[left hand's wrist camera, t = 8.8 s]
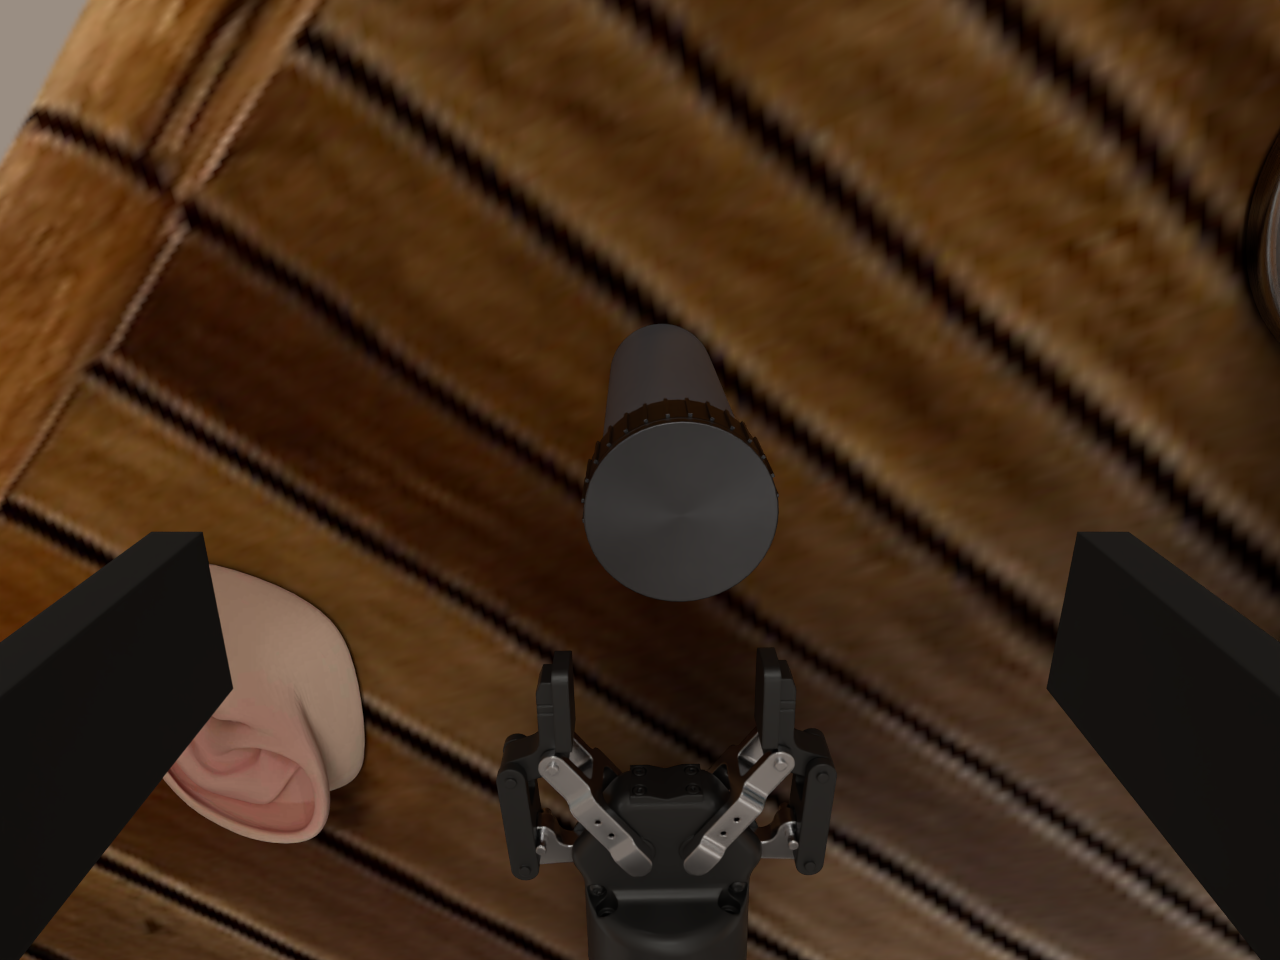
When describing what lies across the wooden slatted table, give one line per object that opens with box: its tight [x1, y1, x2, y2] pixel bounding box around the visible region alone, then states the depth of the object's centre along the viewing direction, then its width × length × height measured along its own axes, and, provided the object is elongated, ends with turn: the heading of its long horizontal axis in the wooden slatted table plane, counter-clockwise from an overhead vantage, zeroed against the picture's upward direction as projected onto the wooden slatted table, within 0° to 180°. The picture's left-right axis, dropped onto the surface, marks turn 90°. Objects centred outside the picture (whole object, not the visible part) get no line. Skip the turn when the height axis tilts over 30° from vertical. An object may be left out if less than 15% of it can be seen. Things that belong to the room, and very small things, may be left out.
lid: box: [581, 397, 779, 602], centre depth 23 cm, size 5×5×2 cm
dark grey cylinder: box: [603, 324, 734, 437], centre depth 29 cm, size 4×4×16 cm
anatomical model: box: [163, 564, 365, 843], centre depth 40 cm, size 13×4×12 cm
